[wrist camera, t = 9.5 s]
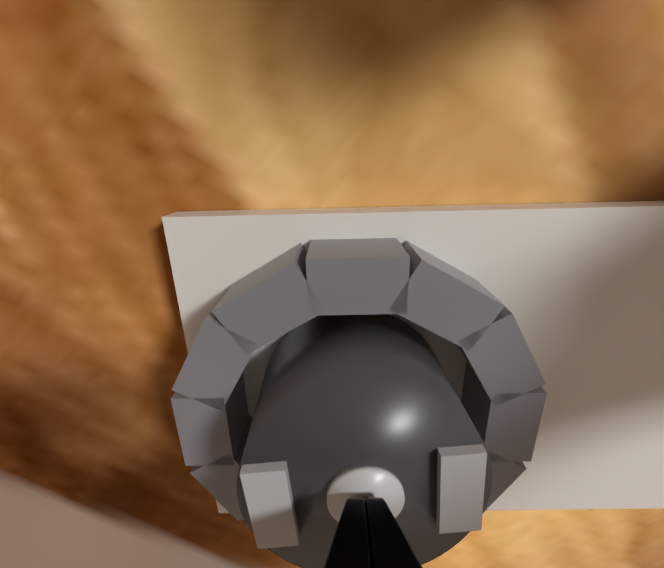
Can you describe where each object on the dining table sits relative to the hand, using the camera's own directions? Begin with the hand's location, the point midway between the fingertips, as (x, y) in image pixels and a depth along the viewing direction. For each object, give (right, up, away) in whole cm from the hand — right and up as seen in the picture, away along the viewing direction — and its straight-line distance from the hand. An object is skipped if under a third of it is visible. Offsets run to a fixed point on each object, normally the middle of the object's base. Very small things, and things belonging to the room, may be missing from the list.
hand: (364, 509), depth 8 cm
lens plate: (+4, +2, +5) cm, 7 cm away
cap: (0, +2, +4) cm, 4 cm away
